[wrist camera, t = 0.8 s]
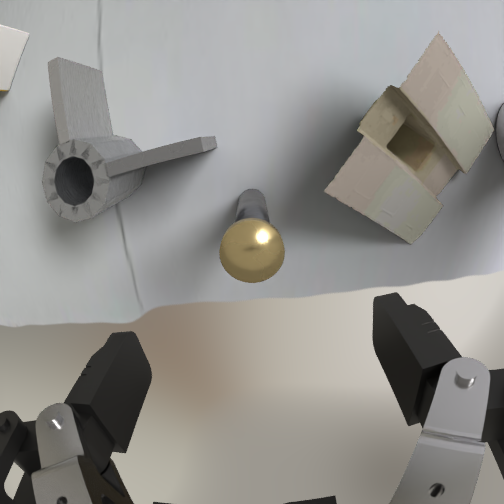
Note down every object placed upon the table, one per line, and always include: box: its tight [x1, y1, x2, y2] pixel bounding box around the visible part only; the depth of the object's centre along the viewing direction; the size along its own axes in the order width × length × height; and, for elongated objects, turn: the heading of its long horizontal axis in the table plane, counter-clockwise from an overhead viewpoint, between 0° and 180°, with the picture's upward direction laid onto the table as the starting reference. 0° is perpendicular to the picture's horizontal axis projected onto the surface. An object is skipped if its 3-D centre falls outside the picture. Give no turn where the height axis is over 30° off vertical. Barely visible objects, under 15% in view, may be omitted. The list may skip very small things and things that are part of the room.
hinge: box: [42, 57, 217, 222], centre depth 22 cm, size 13×13×8 cm
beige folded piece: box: [324, 31, 494, 245], centre depth 23 cm, size 16×9×15 cm
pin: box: [219, 189, 285, 283], centre depth 23 cm, size 3×3×13 cm
